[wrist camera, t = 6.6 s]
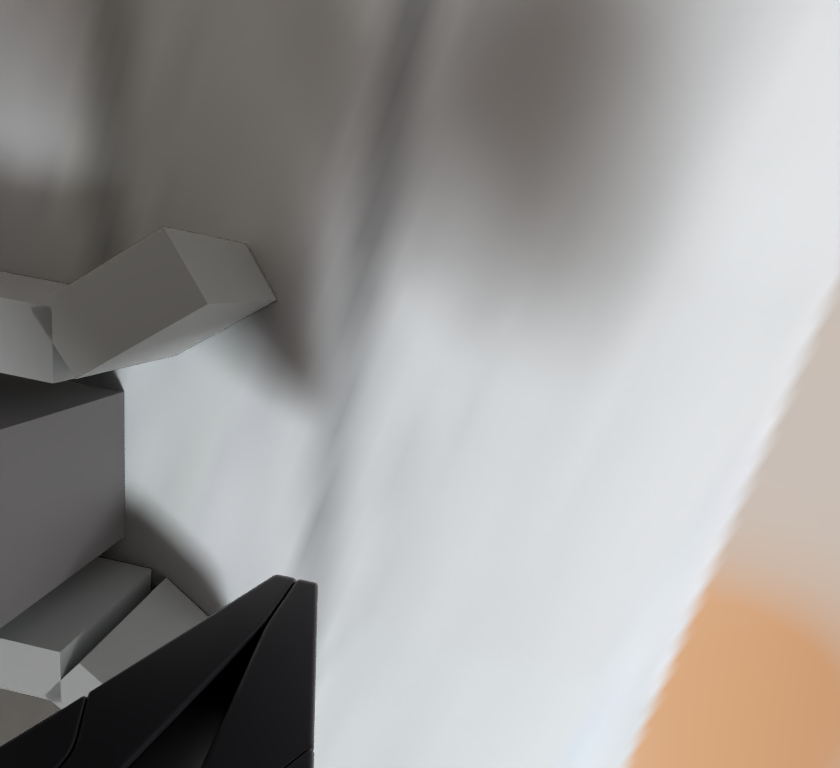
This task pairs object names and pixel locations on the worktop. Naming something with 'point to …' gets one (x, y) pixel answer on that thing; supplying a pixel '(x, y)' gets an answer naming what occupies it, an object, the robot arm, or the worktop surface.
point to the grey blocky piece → (92, 354)
